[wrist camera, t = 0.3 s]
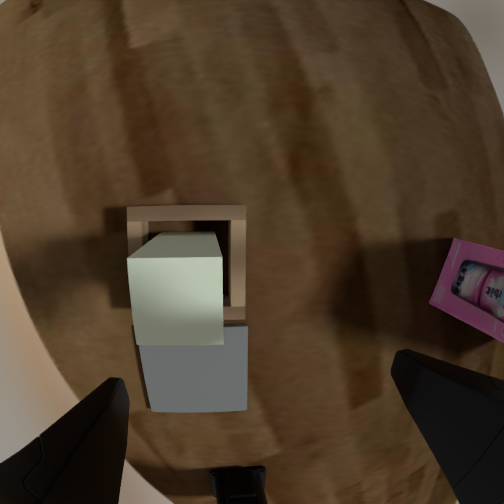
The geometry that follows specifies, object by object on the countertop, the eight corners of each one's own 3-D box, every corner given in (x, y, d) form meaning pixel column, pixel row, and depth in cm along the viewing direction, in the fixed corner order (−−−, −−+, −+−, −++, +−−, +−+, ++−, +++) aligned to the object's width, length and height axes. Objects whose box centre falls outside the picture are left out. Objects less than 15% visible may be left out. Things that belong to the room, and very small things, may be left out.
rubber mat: (246, 406, 25) (247, 410, 24) (152, 408, 23) (151, 411, 23) (246, 323, 23) (247, 326, 23) (137, 325, 22) (136, 327, 21)
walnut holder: (241, 307, 23) (245, 319, 20) (141, 308, 22) (134, 320, 19) (241, 204, 22) (246, 205, 19) (135, 205, 20) (126, 206, 18)
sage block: (215, 283, 22) (223, 344, 13) (163, 284, 22) (136, 344, 12) (214, 231, 22) (222, 256, 12) (161, 232, 21) (126, 258, 11)
